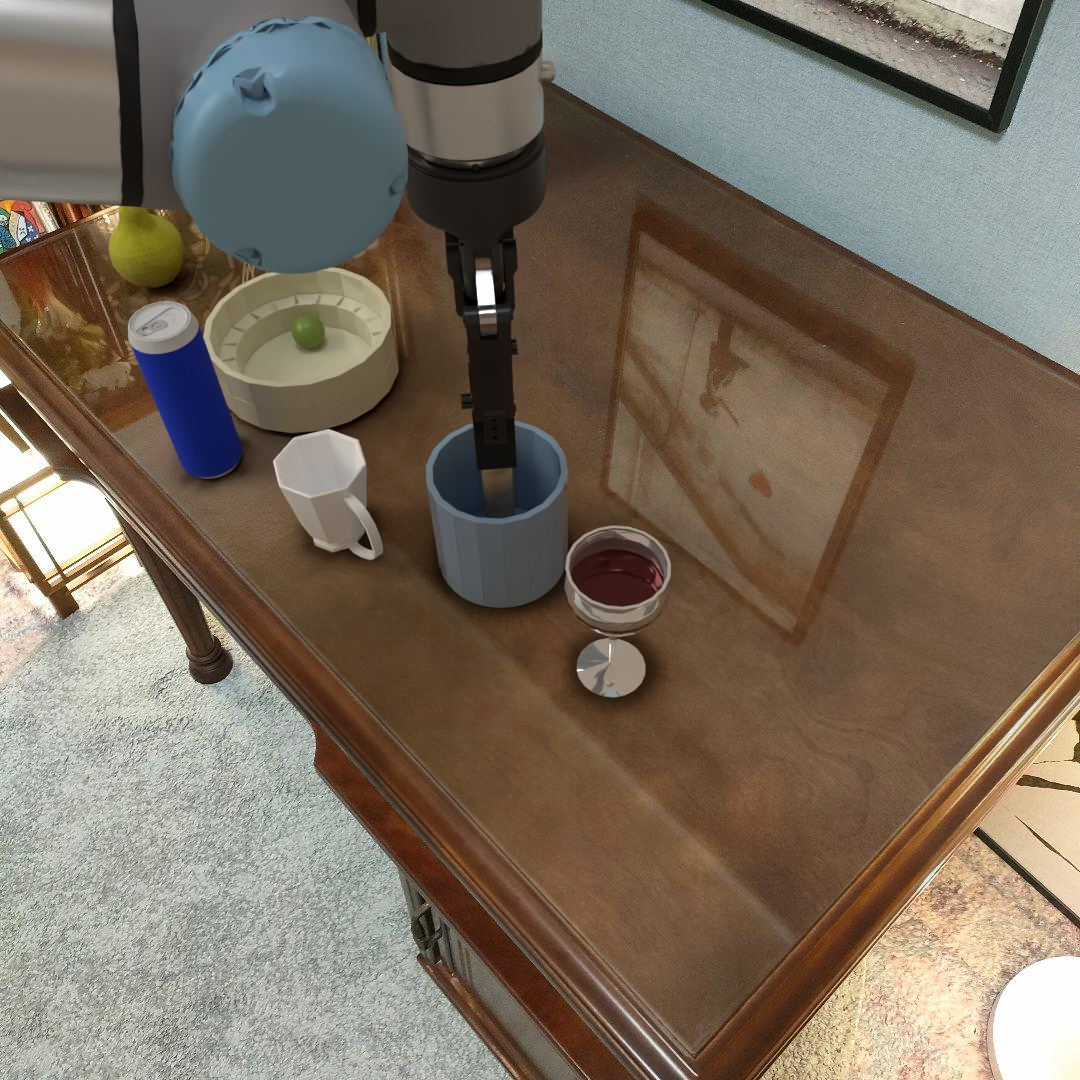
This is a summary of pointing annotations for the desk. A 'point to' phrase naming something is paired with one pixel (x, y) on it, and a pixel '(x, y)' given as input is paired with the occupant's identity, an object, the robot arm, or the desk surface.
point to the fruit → (145, 248)
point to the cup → (328, 490)
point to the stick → (498, 493)
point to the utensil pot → (500, 520)
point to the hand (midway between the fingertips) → (495, 449)
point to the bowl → (303, 349)
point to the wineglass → (615, 602)
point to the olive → (308, 331)
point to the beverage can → (185, 388)
